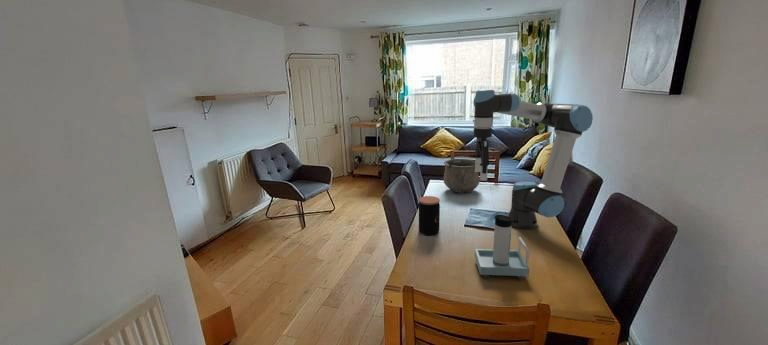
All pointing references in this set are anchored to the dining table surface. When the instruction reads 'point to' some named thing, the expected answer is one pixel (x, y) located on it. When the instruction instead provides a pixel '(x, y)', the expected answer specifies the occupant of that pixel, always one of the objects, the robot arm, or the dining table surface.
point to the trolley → (514, 267)
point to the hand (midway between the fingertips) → (480, 175)
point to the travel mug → (502, 240)
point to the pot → (461, 175)
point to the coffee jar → (429, 215)
